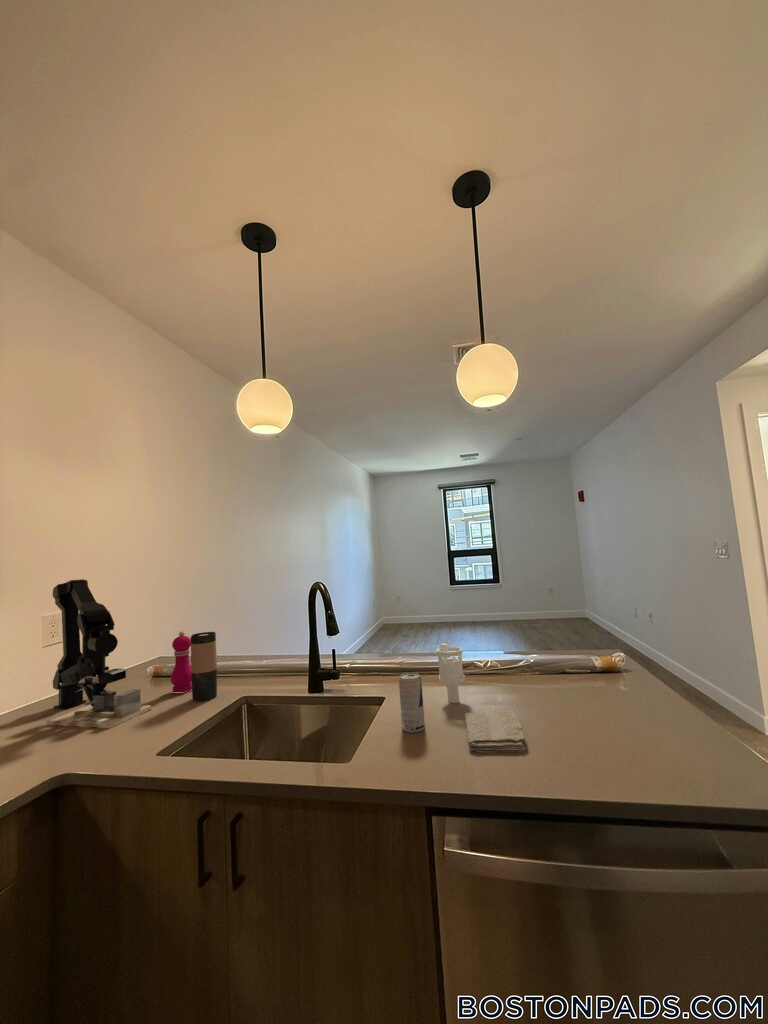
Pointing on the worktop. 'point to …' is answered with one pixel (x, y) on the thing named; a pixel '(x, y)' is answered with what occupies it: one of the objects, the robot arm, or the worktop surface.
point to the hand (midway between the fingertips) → (93, 705)
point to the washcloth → (494, 732)
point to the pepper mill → (181, 664)
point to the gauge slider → (103, 701)
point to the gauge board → (123, 710)
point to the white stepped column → (450, 670)
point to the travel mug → (203, 666)
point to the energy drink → (411, 702)
